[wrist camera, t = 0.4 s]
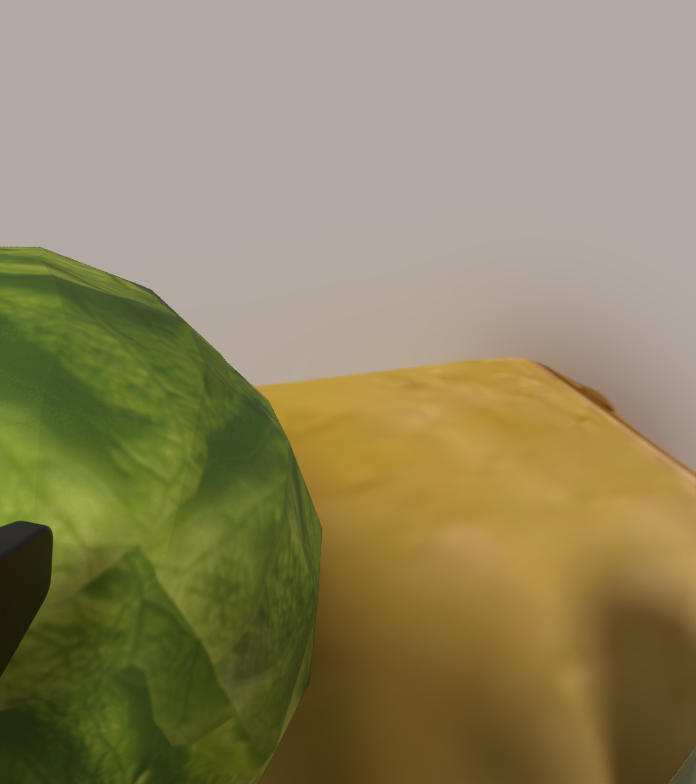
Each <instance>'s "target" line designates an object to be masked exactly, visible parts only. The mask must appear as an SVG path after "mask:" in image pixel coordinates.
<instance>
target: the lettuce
mask: <svg viewBox="0 0 696 784" xmlns="http://www.w3.org/2000/svg"><path fill="white" fill-rule="evenodd" d="M16 521H27V522H32V523H37V524H43V525H47V526H49V527H50V528H51V530H52V532H53V554H52V573H51V584H50V588H49V591H48V594H47V596H46V598H45V600H44V602H43V604H42V606H41V607H40V609H39V611H38V613H37V614H36V616H35V618H34V620H33V622H32V623H31V625H30V627H29V629H28V630H27V632H26V634H25V636H24V637H23V639H22V641H21V643H20V644H19V646H18V648H17V650H16V652H15V653H14V655H13V657H12V659H11V660H10V662H9V664H8V666H7V667H6V669H5V671H4V673H3V674H2V676H1V678H0V784H258V783H259V781H260V779H261V777H262V775H263V773H264V772H265V770H266V768H267V766H268V764H269V762H270V760H271V758H272V756H273V754H274V753H275V751H276V749H277V747H278V745H279V743H280V741H281V739H282V737H283V735H284V733H285V730H286V728H287V726H288V724H289V722H290V720H291V718H292V716H293V714H294V712H295V710H296V708H297V706H298V704H299V702H300V700H301V698H302V696H303V694H304V692H305V690H306V688H307V686H308V684H309V679H310V669H311V659H312V649H313V640H314V630H315V620H316V610H317V600H318V587H319V571H320V555H321V539H322V526H321V524H320V521H319V519H318V516H317V513H316V511H315V508H314V506H313V503H312V500H311V498H310V495H309V492H308V490H307V487H306V485H305V482H304V479H303V477H302V474H301V471H300V469H299V466H298V464H297V461H296V458H295V456H294V453H293V450H292V448H291V445H290V443H289V441H288V439H287V437H286V435H285V433H284V431H283V429H282V427H281V425H280V423H279V421H278V419H277V417H276V415H275V413H274V411H273V409H272V407H271V405H270V403H269V401H268V400H267V399H266V398H265V397H264V396H263V395H262V394H261V393H260V392H259V391H258V390H257V389H256V388H254V387H253V386H252V385H251V384H250V383H249V382H248V381H247V380H246V379H244V377H243V376H241V375H240V374H239V373H238V372H237V371H236V370H235V369H234V368H233V367H232V366H230V364H228V363H227V361H226V360H225V359H224V358H223V357H222V355H221V354H220V353H219V352H218V351H217V350H216V349H215V348H213V347H212V346H211V345H210V344H209V343H208V342H207V341H206V340H205V339H204V338H203V337H202V336H201V335H199V334H198V333H197V332H196V331H195V330H194V329H193V328H192V327H191V326H190V325H189V324H187V322H186V321H184V320H183V319H182V318H181V317H180V316H179V315H178V314H177V313H176V312H175V311H174V310H173V309H171V308H170V307H169V306H168V305H167V304H166V303H165V302H164V301H163V300H162V299H161V298H160V297H159V296H157V295H156V294H155V293H154V292H153V291H152V290H151V289H148V288H146V287H143V286H141V285H138V284H136V283H133V282H131V281H128V280H125V279H123V278H120V277H117V276H115V275H112V274H109V273H107V272H104V271H102V270H99V269H96V268H94V267H91V266H89V265H86V264H83V263H80V262H78V261H75V260H73V259H70V258H68V257H65V256H62V255H60V254H57V253H54V252H52V251H49V250H46V249H44V248H41V247H0V527H1V526H4V525H7V524H10V523H13V522H16Z"/></svg>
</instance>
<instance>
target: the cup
mask: <svg viewBox="0 0 696 784" xmlns="http://www.w3.org/2000/svg"><path fill="white" fill-rule="evenodd" d="M668 784H696V747H695V748H694V749H693V751H692V752H691V753H690V755H689V756H688V757H687V759H686V760H685V761H684V763H683V764H682V765H681V766H680V768H679V769H678V770H677V772H676V773H675V774H674V776H673V777H672V778H671V780H670V781H669V782H668Z"/></svg>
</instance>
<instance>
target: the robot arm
mask: <svg viewBox="0 0 696 784" xmlns="http://www.w3.org/2000/svg"><path fill="white" fill-rule="evenodd" d="M52 554H53V532H52V530H51V528H50V527H49V526H47V525H43V524H37V523H32V522H27V521H16V522H13V523H10V524H7V525H4V526H1V527H0V678H1V676H2V674H3V673H4V671H5V669H6V667H7V666H8V664H9V662H10V660H11V659H12V657H13V655H14V653H15V652H16V650H17V648H18V646H19V644H20V643H21V641H22V639H23V637H24V636H25V634H26V632H27V630H28V629H29V627H30V625H31V623H32V622H33V620H34V618H35V616H36V614H37V613H38V611H39V609H40V607H41V606H42V604H43V602H44V600H45V598H46V596H47V594H48V591H49V588H50V584H51V573H52Z"/></svg>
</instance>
